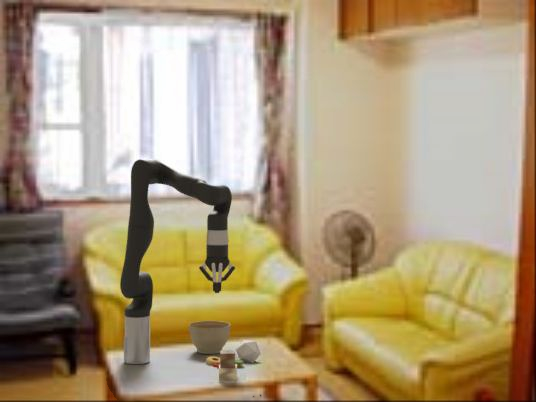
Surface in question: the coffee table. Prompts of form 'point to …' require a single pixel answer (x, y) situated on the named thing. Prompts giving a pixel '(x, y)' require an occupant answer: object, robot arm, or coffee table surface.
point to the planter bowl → (209, 335)
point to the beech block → (228, 373)
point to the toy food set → (216, 361)
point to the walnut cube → (227, 359)
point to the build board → (240, 379)
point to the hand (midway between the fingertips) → (217, 292)
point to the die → (248, 351)
